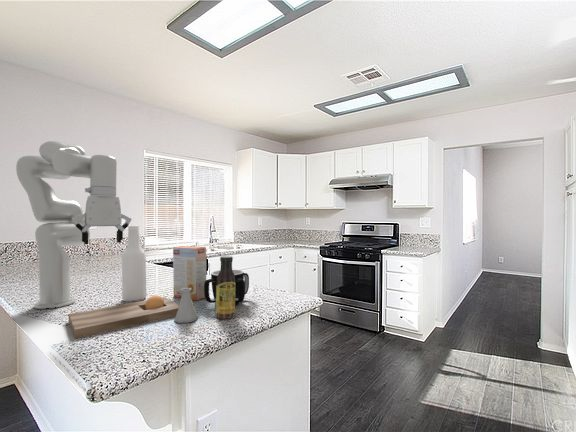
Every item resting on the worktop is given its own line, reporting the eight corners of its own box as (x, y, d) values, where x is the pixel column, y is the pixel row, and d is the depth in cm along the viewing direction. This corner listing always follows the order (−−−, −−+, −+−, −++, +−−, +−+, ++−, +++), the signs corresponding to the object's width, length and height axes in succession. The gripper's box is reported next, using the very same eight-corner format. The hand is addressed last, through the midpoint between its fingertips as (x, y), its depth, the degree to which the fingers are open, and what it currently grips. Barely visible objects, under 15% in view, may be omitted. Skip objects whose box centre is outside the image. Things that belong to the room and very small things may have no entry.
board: (68, 321, 98) (68, 314, 98) (164, 303, 117) (164, 296, 117) (75, 338, 84) (74, 329, 84) (182, 314, 103) (182, 307, 103)
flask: (190, 324, 94) (190, 292, 94) (169, 323, 95) (169, 291, 95) (202, 316, 101) (201, 286, 101) (182, 315, 102) (181, 286, 102)
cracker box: (207, 297, 125) (206, 246, 124) (195, 301, 119) (195, 248, 119) (184, 293, 132) (184, 245, 132) (173, 296, 127) (172, 246, 127)
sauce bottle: (218, 321, 96) (217, 258, 96) (213, 315, 102) (212, 256, 102) (238, 317, 99) (237, 257, 99) (232, 312, 105) (231, 254, 105)
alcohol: (130, 303, 118) (129, 226, 118) (117, 300, 123) (116, 225, 123) (150, 297, 125) (149, 225, 125) (138, 295, 130) (137, 225, 130)
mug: (214, 297, 125) (214, 268, 125) (253, 298, 123) (252, 268, 123) (199, 309, 108) (198, 276, 108) (243, 310, 107) (242, 276, 107)
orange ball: (146, 315, 106) (139, 301, 104) (160, 304, 111) (153, 291, 109) (155, 318, 103) (148, 303, 101) (170, 306, 107) (163, 292, 105)
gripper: (73, 190, 94) (73, 245, 94) (134, 193, 105) (133, 242, 106) (70, 191, 99) (70, 243, 100) (128, 194, 111) (127, 240, 111)
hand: (102, 243), depth 103 cm, fingers open, 9 cm apart
